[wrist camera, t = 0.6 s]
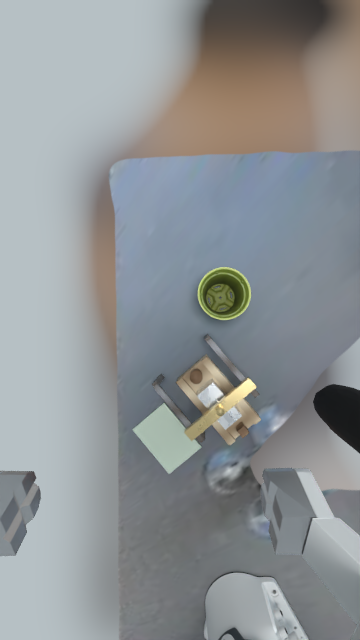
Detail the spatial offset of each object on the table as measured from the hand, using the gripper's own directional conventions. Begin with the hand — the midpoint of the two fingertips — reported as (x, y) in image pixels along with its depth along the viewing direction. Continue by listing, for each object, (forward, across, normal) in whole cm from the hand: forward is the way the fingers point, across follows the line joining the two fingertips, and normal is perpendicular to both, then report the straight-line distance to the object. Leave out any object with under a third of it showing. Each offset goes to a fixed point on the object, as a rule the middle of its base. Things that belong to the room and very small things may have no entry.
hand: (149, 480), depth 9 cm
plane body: (+40, +7, -26) cm, 48 cm away
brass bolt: (+32, +8, -24) cm, 40 cm away
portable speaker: (+37, +32, -28) cm, 56 cm away
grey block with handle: (+36, +8, -26) cm, 45 cm away
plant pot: (+47, +9, -8) cm, 49 cm away
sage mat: (+36, -2, -36) cm, 51 cm away
